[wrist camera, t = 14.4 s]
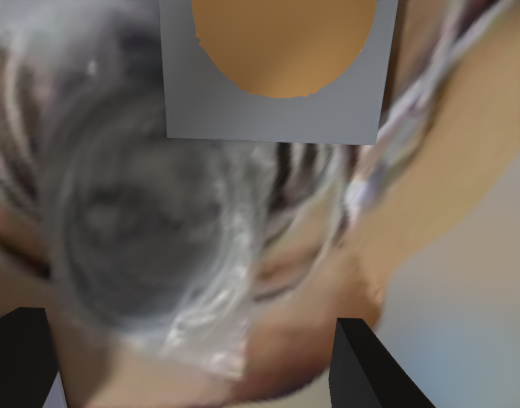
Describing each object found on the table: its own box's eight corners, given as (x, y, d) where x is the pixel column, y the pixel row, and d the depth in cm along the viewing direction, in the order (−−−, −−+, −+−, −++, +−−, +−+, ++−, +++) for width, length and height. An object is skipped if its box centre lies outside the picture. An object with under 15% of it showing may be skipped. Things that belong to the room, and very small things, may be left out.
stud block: (369, 139, 18) (402, 171, 13) (171, 132, 18) (143, 161, 13) (411, -139, 14) (475, -216, 9) (156, -150, 14) (109, -232, 9)
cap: (212, 79, 16) (194, 94, 11) (211, -69, 14) (188, -116, 9) (336, 84, 16) (362, 101, 11) (352, -63, 14) (391, -108, 9)
